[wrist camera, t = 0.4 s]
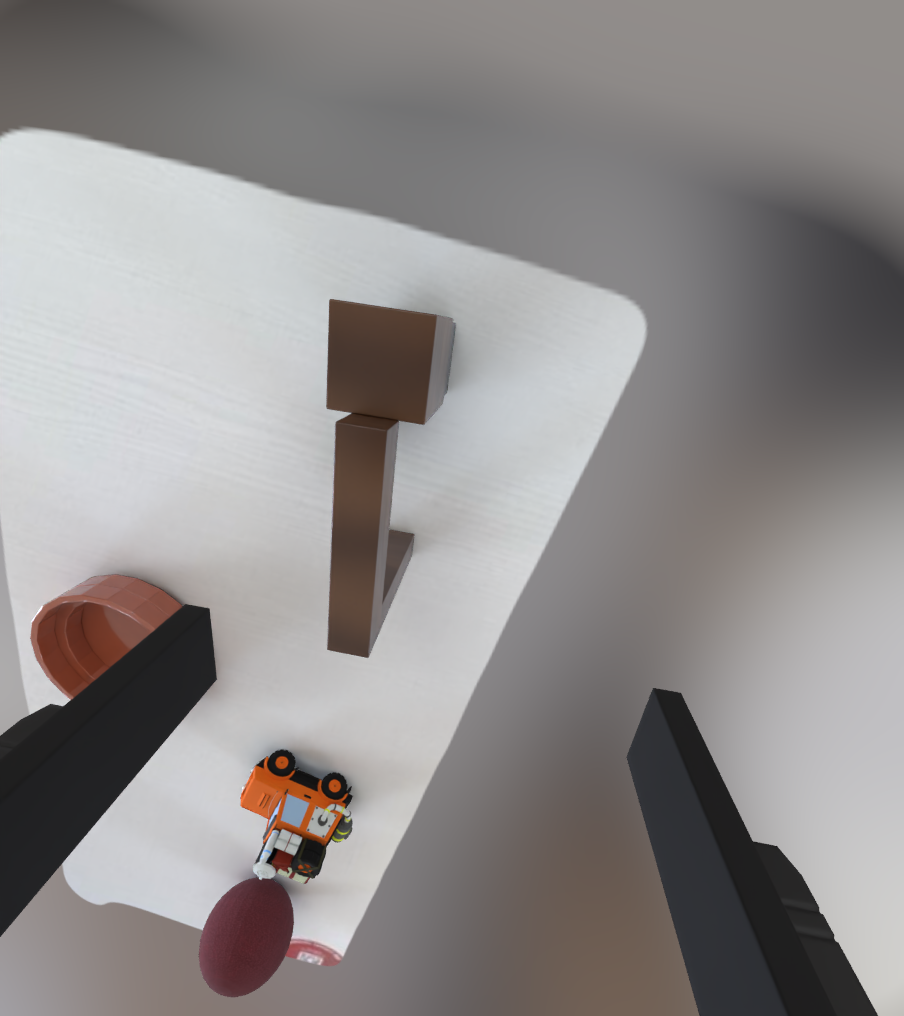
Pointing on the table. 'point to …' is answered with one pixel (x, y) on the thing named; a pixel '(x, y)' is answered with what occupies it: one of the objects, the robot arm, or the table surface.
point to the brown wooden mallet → (375, 453)
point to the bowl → (95, 628)
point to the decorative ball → (246, 937)
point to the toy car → (296, 816)
